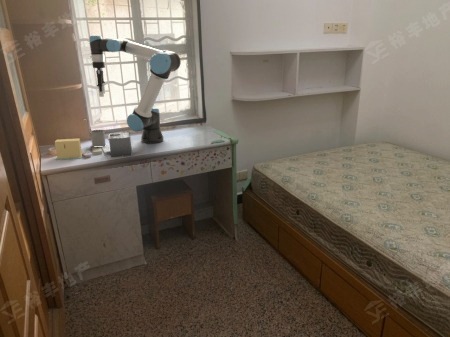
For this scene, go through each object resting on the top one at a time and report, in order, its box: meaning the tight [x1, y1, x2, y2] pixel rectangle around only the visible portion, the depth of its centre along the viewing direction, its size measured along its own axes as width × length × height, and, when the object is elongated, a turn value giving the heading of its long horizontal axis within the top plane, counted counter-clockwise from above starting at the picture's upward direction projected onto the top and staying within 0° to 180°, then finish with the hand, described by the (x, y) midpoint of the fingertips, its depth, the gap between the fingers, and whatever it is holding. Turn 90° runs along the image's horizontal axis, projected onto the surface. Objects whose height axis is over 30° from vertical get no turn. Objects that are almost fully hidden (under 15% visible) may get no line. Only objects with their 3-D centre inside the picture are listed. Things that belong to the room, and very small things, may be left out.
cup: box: [90, 129, 106, 147], centre depth 233 cm, size 8×8×10 cm
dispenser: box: [107, 132, 133, 158], centre depth 218 cm, size 13×12×12 cm
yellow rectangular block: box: [54, 137, 83, 158], centre depth 211 cm, size 13×5×10 cm, turn 103°
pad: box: [55, 155, 83, 161], centre depth 213 cm, size 14×9×1 cm, turn 104°
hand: (102, 95), depth 234 cm, fingers open, 13 cm apart
